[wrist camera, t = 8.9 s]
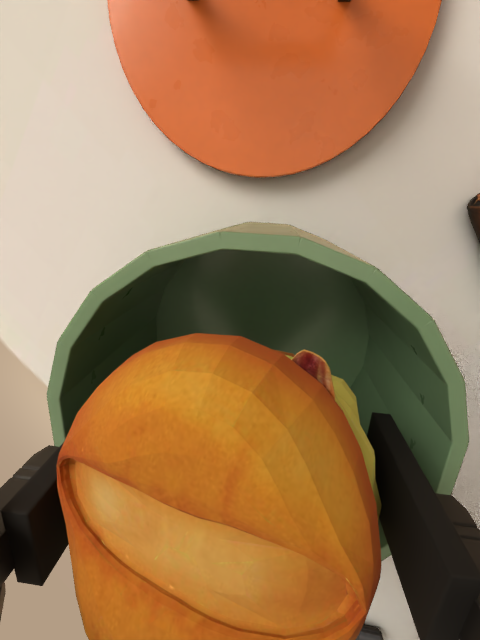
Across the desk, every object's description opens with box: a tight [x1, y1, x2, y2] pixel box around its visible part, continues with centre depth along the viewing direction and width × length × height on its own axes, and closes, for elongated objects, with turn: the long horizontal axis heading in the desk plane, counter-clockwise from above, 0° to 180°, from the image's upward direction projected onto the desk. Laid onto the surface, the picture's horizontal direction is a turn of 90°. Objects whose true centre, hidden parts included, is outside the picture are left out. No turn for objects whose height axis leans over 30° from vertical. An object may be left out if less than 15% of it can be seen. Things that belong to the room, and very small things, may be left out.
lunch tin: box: [47, 222, 469, 561], centre depth 19 cm, size 17×17×12 cm
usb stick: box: [355, 625, 383, 640], centre depth 33 cm, size 10×3×2 cm, turn 81°
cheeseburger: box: [57, 333, 381, 640], centre depth 11 cm, size 10×11×10 cm
